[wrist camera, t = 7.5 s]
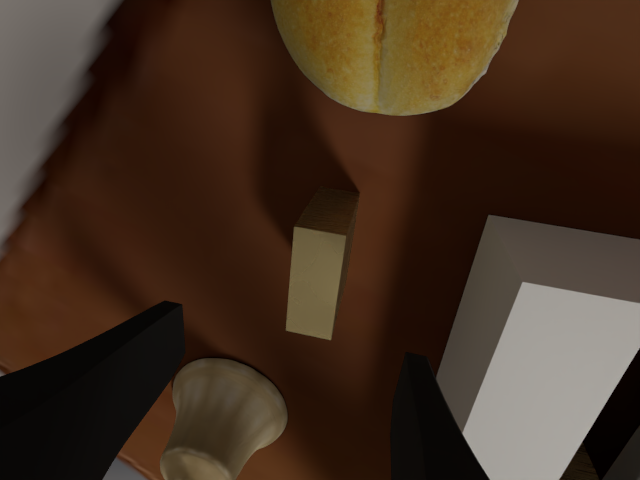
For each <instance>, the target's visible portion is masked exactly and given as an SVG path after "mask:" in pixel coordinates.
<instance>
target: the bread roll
mask: <svg viewBox="0 0 640 480" xmlns="http://www.w3.org/2000/svg"><path fill="white" fill-rule="evenodd" d="M518 1H519V0H271V4H272V9H273V13H274V17H275V20H276V24H277V27H278V30H279V32H280V34H281V36H282V39H283V42H284V43H285V46H286V48H287V49H288V51H289V53H290V55H291V56H292V58H293V60H294V61H295V63H296V64H297V66H298V67H299V69H300V70H301V71H302V72H303V74H304V75H305V76H306V77H307V78H308V79H309V80H310V81H311V82H312V83H313V84H315V85H316V86H317V87H318V88H319V89H320V90H322V91H323V92H324V93H325V94H326V95H327V96H328V97H330V98H331V99H333V100H335V101H337V102H338V103H340V104H342V105H345V106H348V107H350V108H353V109H356V110H359V111H364V112H372V113H380V114H386V115H399V116H406V115H415V114H423V113H428V112H433V111H437V110H440V109H444V108H447V107H449V106H451V105H452V104H454V103H455V102H457V101H458V100H459V99H461V98H462V97H463V96H464V95H465V94H466V93H467V92H468V91H469V90H470V89H471V87H472V86H473V85H474V84H475V83H476V82H477V81H478V80H479V79H480V77H481V76H483V75H484V74H485V73H486V71H487V69H488V66H489V64H490V61H491V59H492V57H493V56H494V55H495V54H496V52H497V51H498V49H499V48H500V45H501V43H502V41H503V39H504V37H505V36H506V34H507V28H508V24H509V21H510V18H511V16H512V15H513V13H514V11H515V9H516V6H517V4H518Z"/></svg>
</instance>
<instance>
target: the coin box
mask: <svg viewBox="0 0 640 480" xmlns="http://www.w3.org/2000/svg"><path fill="white" fill-rule="evenodd" d="M639 348H640V239H633V238H627V237H621V236H615V235H609V234H603V233H597V232H591V231H585V230H579V229H573V228H567V227H561V226H555V225H549V224H542V223H536V222H530V221H524V220H518V219H512V218H506V217H500V216H494V215H488V218H487V221H486V224H485V227H484V230H483V233H482V236H481V239H480V243H479V246H478V249H477V252H476V255H475V258H474V261H473V264H472V267H471V271H470V274H469V277H468V280H467V283H466V286H465V289H464V292H463V295H462V299H461V302H460V305H459V308H458V311H457V314H456V317H455V320H454V323H453V326H452V330H451V333H450V336H449V339H448V342H447V345H446V348H445V351H444V354H443V358H442V361H441V364H440V367H439V370H438V373H437V376H436V379H437V382H438V384H439V387H440V389H441V391H442V393H443V396H444V398H445V400H446V402H447V404H448V406H449V408H450V410H451V412H452V414H453V416H454V418H455V420H456V422H457V424H458V426H459V428H460V430H461V432H462V434H463V436H464V437H465V439H466V441H467V443H468V444H469V446H470V448H471V450H472V452H473V453H474V455H475V457H476V458H477V460H478V462H479V463H480V465H481V466H482V468H483V470H484V471H485V473H486V474H487V476H488V477H489V479H490V480H559V479H560V478H561V476H562V474H563V473H564V471H565V469H566V468H567V466H568V464H569V463H570V461H571V460H572V458H573V456H574V455H575V453H576V451H577V450H578V448H579V446H580V445H581V443H582V442H583V440H584V438H585V437H586V435H587V433H588V432H589V430H590V428H591V427H592V425H593V423H594V422H595V420H596V419H597V417H598V415H599V414H600V412H601V410H602V409H603V407H604V405H605V404H606V402H607V401H608V399H609V397H610V396H611V394H612V392H613V391H614V389H615V387H616V386H617V384H618V383H619V381H620V379H621V378H622V376H623V374H624V373H625V371H626V369H627V368H628V366H629V365H630V363H631V361H632V360H633V358H634V356H635V355H636V353H637V351H638V350H639ZM602 480H640V425H639V427H638V428H637V430H636V431H635V433H634V434H633V436H632V437H631V438H630V440H629V441H628V443H627V444H626V446H625V447H624V449H623V450H622V451H621V453H620V454H619V456H618V457H617V459H616V460H615V462H614V463H613V465H612V466H611V467H610V469H609V470H608V472H607V473H606V475H605V476H604V478H603V479H602Z"/></svg>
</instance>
